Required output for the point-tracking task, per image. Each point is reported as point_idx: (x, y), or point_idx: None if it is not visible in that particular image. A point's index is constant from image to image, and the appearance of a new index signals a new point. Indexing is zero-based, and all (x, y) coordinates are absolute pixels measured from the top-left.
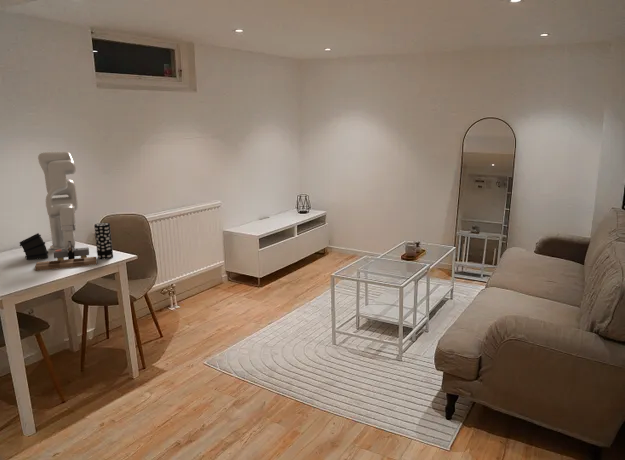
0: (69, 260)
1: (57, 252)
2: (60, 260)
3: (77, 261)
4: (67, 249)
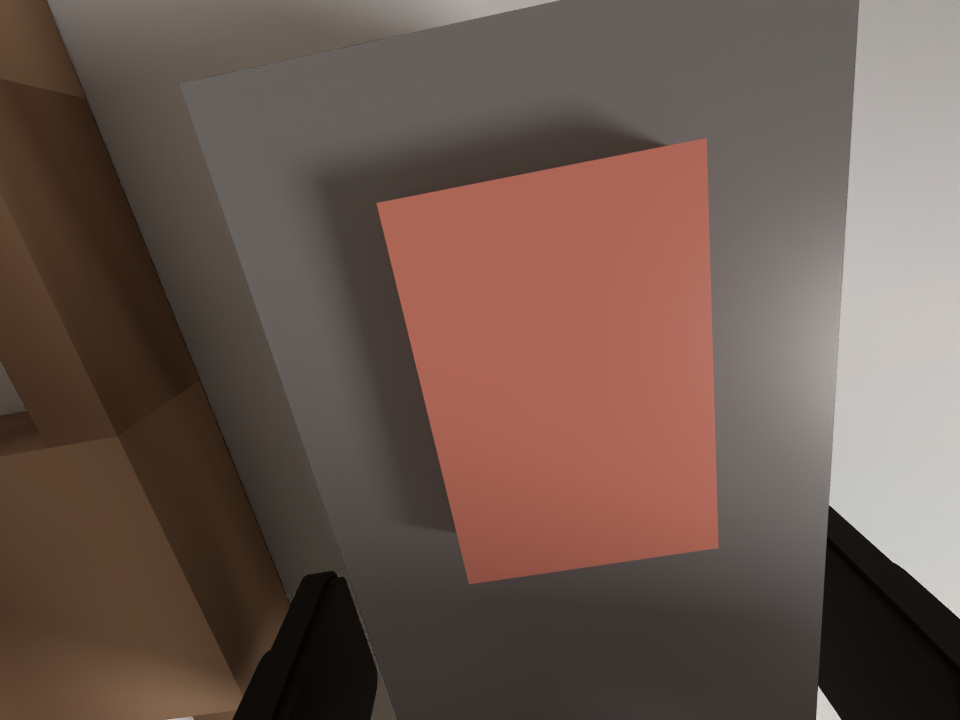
0: (79, 659)
1: (283, 359)
2: (64, 441)
3: None
4: (770, 714)
